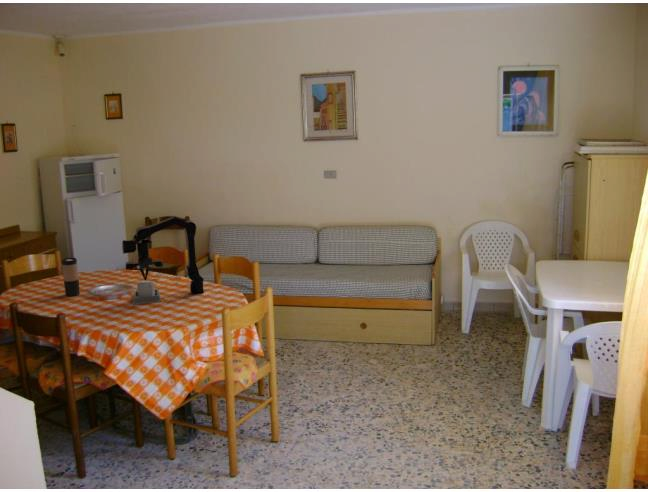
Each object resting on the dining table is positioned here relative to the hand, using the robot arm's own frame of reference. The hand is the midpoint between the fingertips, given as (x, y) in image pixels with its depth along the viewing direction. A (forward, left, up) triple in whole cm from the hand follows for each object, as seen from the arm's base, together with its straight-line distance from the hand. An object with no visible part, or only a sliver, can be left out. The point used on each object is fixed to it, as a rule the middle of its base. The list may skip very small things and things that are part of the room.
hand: (145, 280), depth 351 cm
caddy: (0, 0, -10) cm, 10 cm away
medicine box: (0, 0, -10) cm, 10 cm away
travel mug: (+39, -21, -10) cm, 46 cm away
